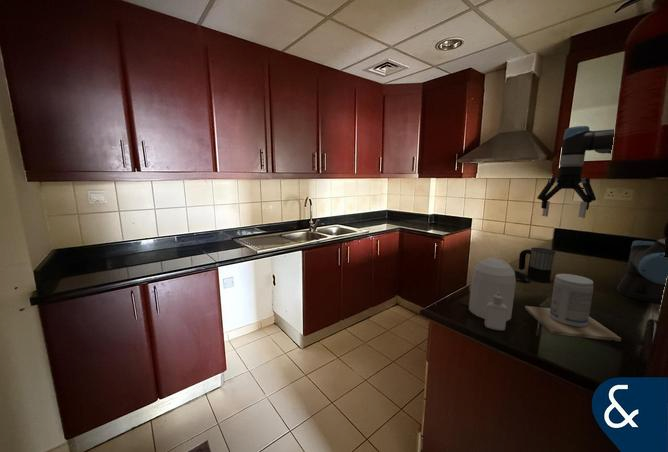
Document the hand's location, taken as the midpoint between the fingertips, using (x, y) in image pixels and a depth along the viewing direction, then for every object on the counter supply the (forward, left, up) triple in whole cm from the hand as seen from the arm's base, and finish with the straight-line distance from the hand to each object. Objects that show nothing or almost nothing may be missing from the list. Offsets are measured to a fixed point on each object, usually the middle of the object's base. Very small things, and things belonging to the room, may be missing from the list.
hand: (562, 216), depth 114 cm
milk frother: (+5, -8, -32) cm, 33 cm away
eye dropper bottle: (+38, +43, -32) cm, 66 cm away
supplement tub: (+13, +34, -31) cm, 48 cm away
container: (+36, +32, -32) cm, 58 cm away
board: (+13, +34, -32) cm, 49 cm away
